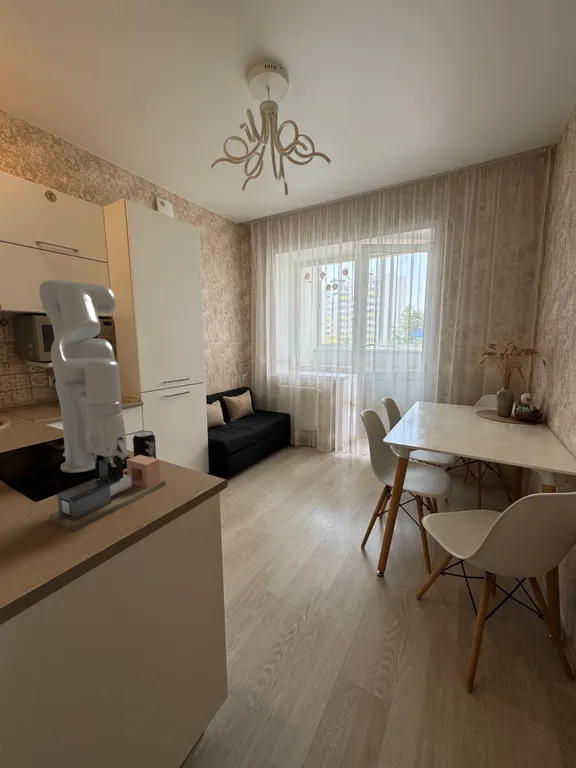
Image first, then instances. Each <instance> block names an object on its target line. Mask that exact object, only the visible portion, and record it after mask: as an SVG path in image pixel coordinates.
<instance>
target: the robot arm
mask: <svg viewBox="0 0 576 768" xmlns="http://www.w3.org/2000/svg"><path fill="white" fill-rule="evenodd" d="M38 289H39V298H40V302H41V305H42V308H43V311H44V312H45V314H46V316H47V318H48V319H49V321H50V323H51V326H52V329H53V337H54V340H53V341H52V344H51V350H50V358H51V364H52V369H53V374H54V379H55V382H54V383H55V390H56V394H57V397H58V402H59V406H60V413H61V422H62V423H61V424H62V433H63V434H62V435H63V441H64V442H63V443H64V445H63V446H64V452H63V453H62V456H63V457H65V461H64V462H63V463H61V464H60V470H61V471H62V472H64V473H69V474H73V473H74V474H75V473H77V474H78V473H82V472H84V473H85V472H88V471H92V470H95V471H94V472H95V477H96V478H100V476H99V462H98V461H100V460H103V459H105V458H108V457H109V459H110V462H111V466H112V467H110V480H111V482H115V481H117V480H120V479H122V478H123V474H124V465H123V464H125V460H126V461H127V459H128V458H129V456H130V453H129V451H128V449H127V433H126V426H125V421H124V418H123V417H124V416H123V415H122V414H123V410H122V409H123V408H122V394H121V393H122V391H121V378H120V376H121V375H120V364H119V363H118V362H117V361H116V357H115V353H114V348H113V345H112V344H111V342H110V341H108V339H107V340H106V339H104V338H95V337H97V336H98V335H99V334H100V332H101V330H102V326H101V322H100V319H99V316H98V314H101V315H102V314H104V315H109V314H110V315H111V314H113V313H114V312H115V310H116V307H117V301H116V297H115V293H114V292H113V290H112V289H111V288H110V286H107V285H102V284H97V283H88V282H80V281H79V282H78V281H71V280H63V279H51V280H45V281H43V282H42V283H40V285H39V288H38ZM116 456H117V457H116ZM115 457H116V458H115ZM115 459H116V460H115Z"/></svg>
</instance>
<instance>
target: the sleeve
mask: <svg viewBox="0 0 576 768" xmlns="http://www.w3.org/2000/svg"><path fill="white" fill-rule="evenodd" d="M56 494H57V505H58V511H59V515H60V516H63V517H65V518H67V519H69V520H72V521H76V520H78V519H80V518H82V517H84V516H87V515H89V514H91V513H93V512H95V511H97V510H99V509H101V508H103V507H105V506H107V505H109V504H111V494H110V483H107V482H104V481H101V480H100V479H98V478H93V479H90V480H88V481H85V482H83V483H80V484H77V485H76V486H73V487H70V488H67V489H65V490H62V491H60V492H58V493H56ZM62 499H65V500H67V501H70V510H71V515H69V514H66V513H64V512H62V503H61V500H62Z"/></svg>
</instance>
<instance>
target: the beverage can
mask: <svg viewBox="0 0 576 768" xmlns="http://www.w3.org/2000/svg"><path fill="white" fill-rule="evenodd" d="M132 449H133V457H135V456H138V455H143V456H147V457H151V458H155V459H157V453H156V451H157V450H156V449H157V447H156V436H155V435H154V431H153V430H152V431H151V430H141V431H137V432H135V433H134V434H133V438H132Z"/></svg>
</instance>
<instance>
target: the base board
mask: <svg viewBox="0 0 576 768" xmlns="http://www.w3.org/2000/svg"><path fill="white" fill-rule="evenodd" d="M166 484H167V482H166V480H163V479H160V482H159V483H157V484H155V485H153V486H151V487H149V488H145V487H142V486H139V485H136V484H133V483H131V486H132V487H129V488H127V489H125V490H123V491H121V492H119V493H117V494H114V495H112V496H111V504H109V505H107V506H105V507H103V508H101V509H99V510H97V511H95V512H93V513H91V514H89V515H87V516H84V517H82V518H80V519H78V520H76V521H72V520H69V519H67V518H65V517H63V516H60V515H59V510H57V511H55V512H53V513H50V514H49V520H50V521H53V522H54V523H56V524H59V525H60V526H63V527H65V528H67V529H70V530H71V531H74V532H77V531H79V530H81V529H83V528H85V527H87V526H88V525H91V524H92V523H94V522H97V521H98V520H100V519H102V518H104V517H107V516H108V515H110V514H112V513H115V512H116V511H118V510H119V509H122V508H124V507H125V506H128V505H129V504H131V503H133V502H136V501H137V500H139V499H141V498H143V497H146V496H147V495H149V494H151V493H153V492H155V491H157V490H158V489H161V488H163V487H164V486H166Z"/></svg>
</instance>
